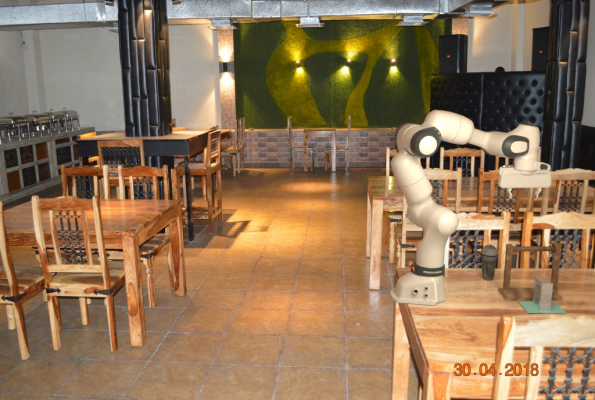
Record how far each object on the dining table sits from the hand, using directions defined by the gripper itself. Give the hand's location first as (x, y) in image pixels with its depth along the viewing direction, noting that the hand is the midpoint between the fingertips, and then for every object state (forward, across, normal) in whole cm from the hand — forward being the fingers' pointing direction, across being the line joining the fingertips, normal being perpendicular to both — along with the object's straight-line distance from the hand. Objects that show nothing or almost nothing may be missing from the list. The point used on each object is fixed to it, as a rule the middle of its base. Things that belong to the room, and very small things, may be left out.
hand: (523, 198), depth 217 cm
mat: (+39, +3, -19) cm, 44 cm away
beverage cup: (+39, -8, +12) cm, 42 cm away
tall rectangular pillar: (+38, +3, -19) cm, 43 cm away
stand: (+39, +3, -7) cm, 40 cm away
